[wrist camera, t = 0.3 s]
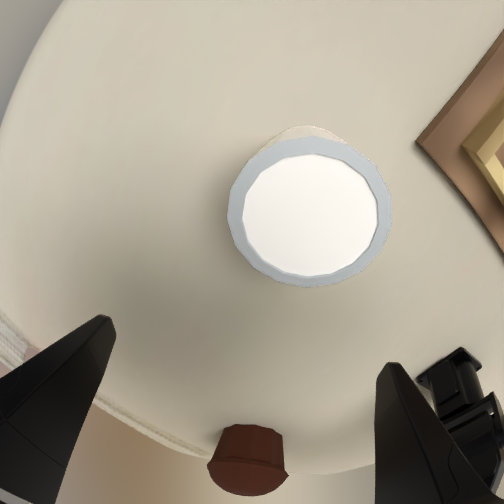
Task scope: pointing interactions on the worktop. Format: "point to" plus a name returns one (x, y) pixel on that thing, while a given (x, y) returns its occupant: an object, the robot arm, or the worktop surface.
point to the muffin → (248, 460)
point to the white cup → (309, 209)
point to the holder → (475, 140)
